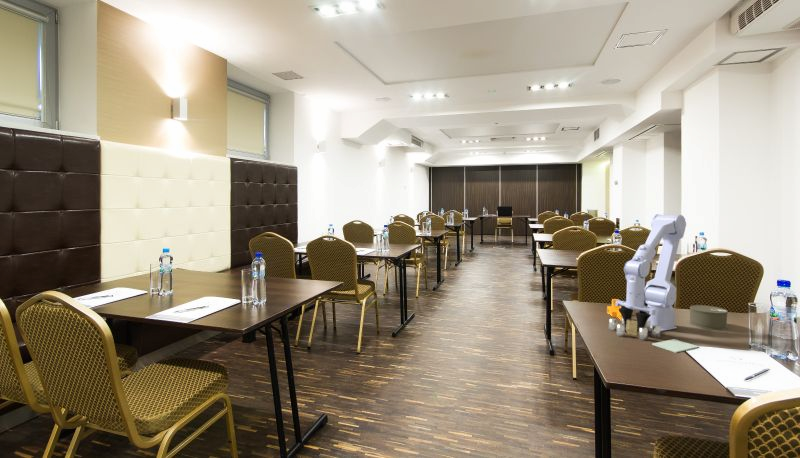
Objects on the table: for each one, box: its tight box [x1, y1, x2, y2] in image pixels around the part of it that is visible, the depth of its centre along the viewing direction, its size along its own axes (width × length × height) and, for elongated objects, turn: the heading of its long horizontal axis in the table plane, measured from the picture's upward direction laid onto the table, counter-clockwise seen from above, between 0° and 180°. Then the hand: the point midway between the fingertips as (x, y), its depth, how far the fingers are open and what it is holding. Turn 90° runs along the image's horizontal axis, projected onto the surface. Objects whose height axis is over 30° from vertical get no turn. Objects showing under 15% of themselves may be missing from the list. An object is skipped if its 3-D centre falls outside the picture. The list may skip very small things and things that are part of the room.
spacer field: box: [608, 317, 661, 341], centre depth 150 cm, size 17×15×4 cm
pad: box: [651, 338, 700, 354], centre depth 136 cm, size 12×8×1 cm, turn 114°
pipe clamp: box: [606, 298, 622, 322], centre depth 171 cm, size 12×4×6 cm, turn 170°
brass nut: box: [625, 317, 639, 336], centre depth 150 cm, size 5×4×5 cm
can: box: [689, 304, 729, 331], centre depth 160 cm, size 12×12×7 cm
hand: (633, 329), depth 150 cm, fingers closed on brass nut, 4 cm apart
